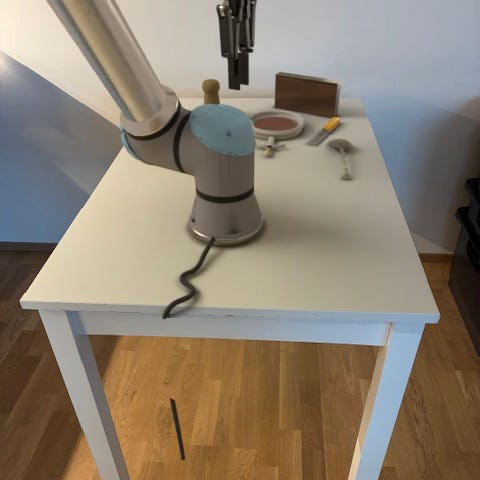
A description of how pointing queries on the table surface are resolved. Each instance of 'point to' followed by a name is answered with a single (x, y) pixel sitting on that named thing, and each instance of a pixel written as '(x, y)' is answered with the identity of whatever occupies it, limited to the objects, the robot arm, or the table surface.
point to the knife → (325, 130)
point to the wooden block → (307, 94)
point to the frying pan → (276, 127)
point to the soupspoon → (342, 151)
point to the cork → (211, 91)
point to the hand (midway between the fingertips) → (238, 86)
